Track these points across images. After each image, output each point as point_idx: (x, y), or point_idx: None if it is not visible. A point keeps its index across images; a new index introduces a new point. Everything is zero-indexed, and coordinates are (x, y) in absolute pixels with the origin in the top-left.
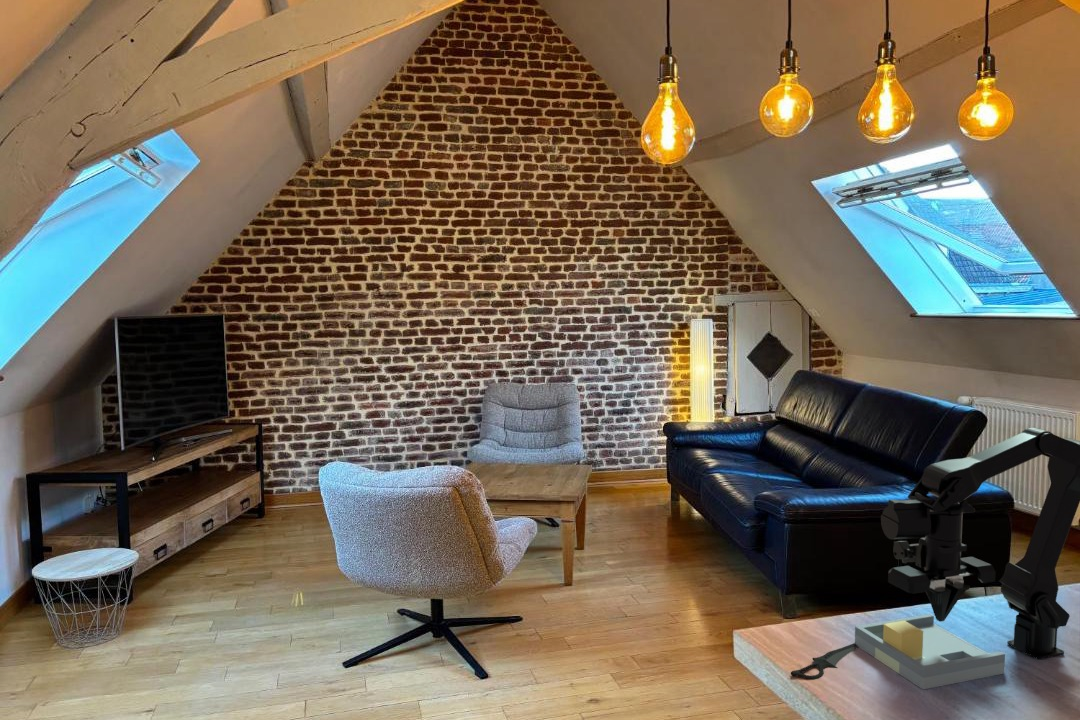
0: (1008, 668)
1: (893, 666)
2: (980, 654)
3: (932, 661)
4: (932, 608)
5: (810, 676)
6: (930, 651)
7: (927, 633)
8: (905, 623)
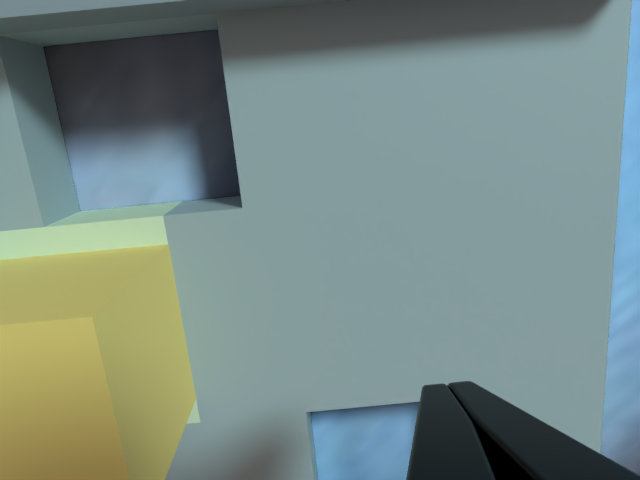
0: (625, 455)
1: None
2: None
3: (212, 464)
4: (413, 448)
5: None
6: (283, 362)
7: (450, 128)
8: (63, 377)
